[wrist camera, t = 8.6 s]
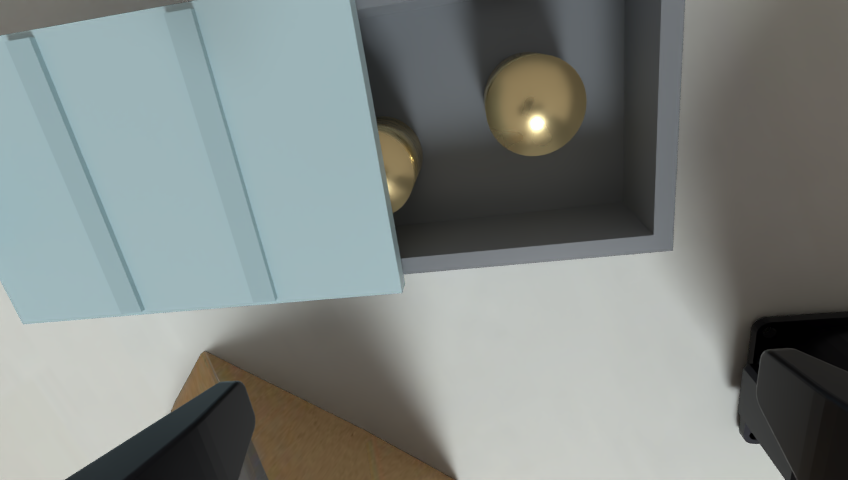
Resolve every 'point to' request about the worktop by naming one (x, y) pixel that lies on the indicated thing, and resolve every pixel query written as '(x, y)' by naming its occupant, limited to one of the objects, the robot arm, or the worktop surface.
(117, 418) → the worktop surface
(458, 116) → the tub
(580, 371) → the worktop surface
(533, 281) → the worktop surface
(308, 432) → the sandwich container
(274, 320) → the worktop surface
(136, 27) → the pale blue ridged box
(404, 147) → the brass slug
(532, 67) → the brass slug
